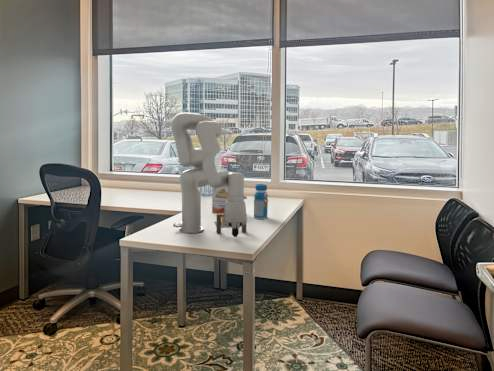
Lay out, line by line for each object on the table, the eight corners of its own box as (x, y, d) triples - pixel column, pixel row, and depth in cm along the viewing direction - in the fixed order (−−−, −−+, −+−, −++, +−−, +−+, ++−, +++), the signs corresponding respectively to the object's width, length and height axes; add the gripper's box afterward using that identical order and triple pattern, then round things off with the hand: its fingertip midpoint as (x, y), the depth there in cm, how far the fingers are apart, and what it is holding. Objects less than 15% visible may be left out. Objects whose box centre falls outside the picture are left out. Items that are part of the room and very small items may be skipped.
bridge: (217, 233, 195) (217, 214, 194) (216, 232, 198) (216, 213, 197) (246, 232, 198) (246, 214, 197) (245, 231, 201) (245, 212, 200)
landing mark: (216, 227, 207) (216, 227, 207) (214, 221, 220) (214, 221, 220) (240, 226, 210) (240, 226, 209) (236, 221, 222) (236, 221, 222)
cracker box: (211, 212, 244) (212, 179, 241) (214, 210, 250) (214, 178, 247) (233, 213, 242) (234, 180, 239) (235, 211, 248) (235, 179, 245)
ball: (221, 223, 218) (222, 225, 212) (220, 213, 218) (222, 214, 212) (231, 222, 219) (233, 224, 213) (231, 212, 219) (233, 213, 213)
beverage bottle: (255, 219, 227) (255, 185, 225) (252, 216, 236) (252, 183, 233) (269, 219, 229) (270, 185, 226) (265, 216, 237) (266, 183, 234)
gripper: (249, 197, 188) (249, 233, 190) (219, 197, 185) (218, 234, 188) (252, 199, 180) (252, 238, 183) (220, 200, 178) (220, 239, 180)
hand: (235, 236), depth 185 cm, fingers closed
